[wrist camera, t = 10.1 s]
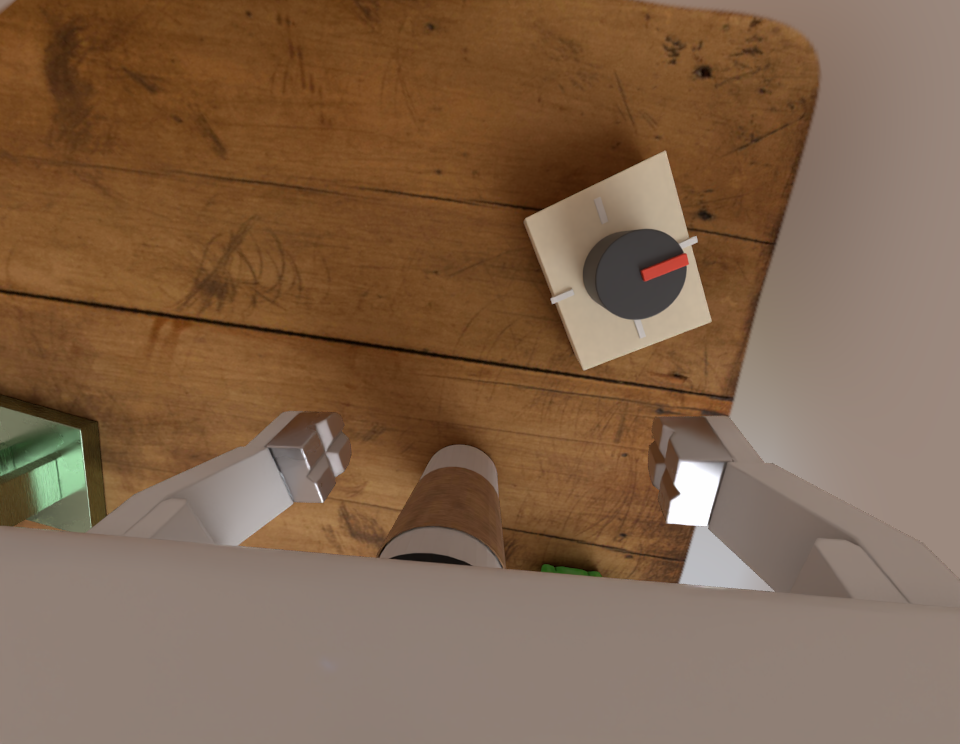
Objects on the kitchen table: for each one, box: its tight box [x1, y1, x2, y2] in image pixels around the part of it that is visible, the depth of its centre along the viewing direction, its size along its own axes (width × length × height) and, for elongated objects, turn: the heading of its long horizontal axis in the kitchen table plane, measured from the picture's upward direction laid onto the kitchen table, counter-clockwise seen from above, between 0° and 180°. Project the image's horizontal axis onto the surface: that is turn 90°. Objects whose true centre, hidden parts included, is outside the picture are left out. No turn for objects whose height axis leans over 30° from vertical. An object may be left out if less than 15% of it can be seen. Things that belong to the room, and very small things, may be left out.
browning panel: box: [524, 151, 711, 370], centre depth 23 cm, size 10×9×3 cm
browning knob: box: [583, 229, 689, 320], centre depth 20 cm, size 4×4×4 cm
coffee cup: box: [376, 445, 506, 569], centre depth 24 cm, size 8×8×15 cm
